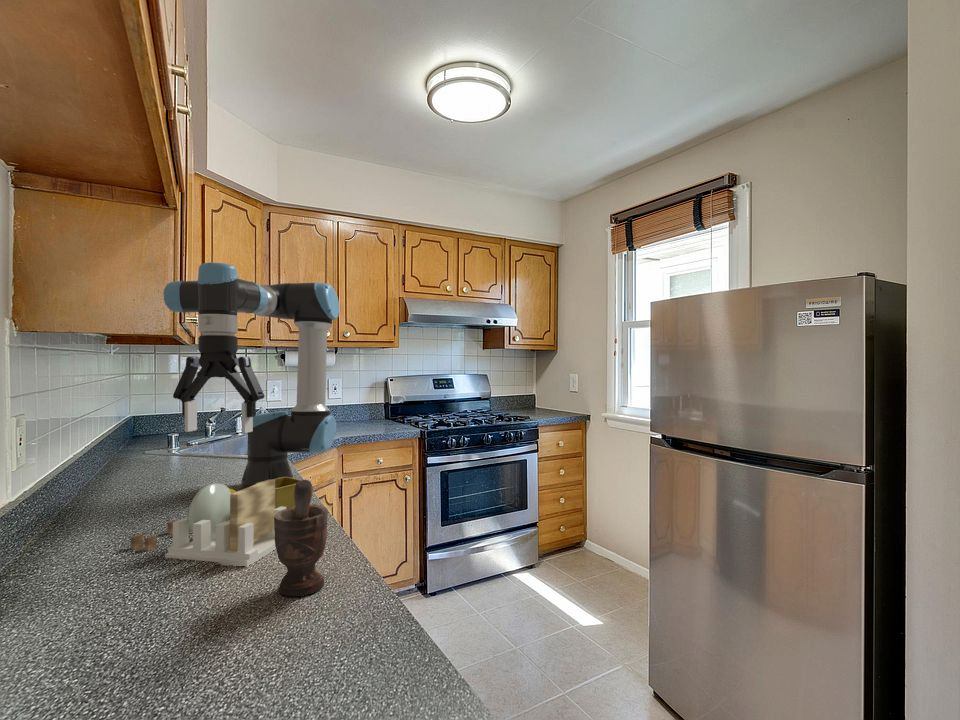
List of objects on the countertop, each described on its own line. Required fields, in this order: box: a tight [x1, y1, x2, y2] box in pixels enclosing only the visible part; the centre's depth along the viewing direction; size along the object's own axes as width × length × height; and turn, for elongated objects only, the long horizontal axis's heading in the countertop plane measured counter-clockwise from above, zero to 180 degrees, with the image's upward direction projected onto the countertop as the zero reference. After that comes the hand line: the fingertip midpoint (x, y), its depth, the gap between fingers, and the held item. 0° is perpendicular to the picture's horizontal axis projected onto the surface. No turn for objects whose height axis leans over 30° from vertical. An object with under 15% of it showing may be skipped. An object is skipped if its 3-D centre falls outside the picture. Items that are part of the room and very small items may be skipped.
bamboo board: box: [229, 480, 275, 552], centre depth 98 cm, size 12×2×11 cm, turn 169°
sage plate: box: [187, 482, 231, 538], centre depth 100 cm, size 11×1×11 cm, turn 170°
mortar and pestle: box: [274, 479, 329, 597], centre depth 80 cm, size 12×9×20 cm
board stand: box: [130, 519, 192, 552], centre depth 102 cm, size 11×4×3 cm, turn 170°
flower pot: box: [256, 477, 302, 509], centre depth 119 cm, size 9×9×9 cm
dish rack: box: [164, 506, 286, 568], centre depth 99 cm, size 15×18×7 cm
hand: (218, 431), depth 104 cm, fingers open, 13 cm apart
